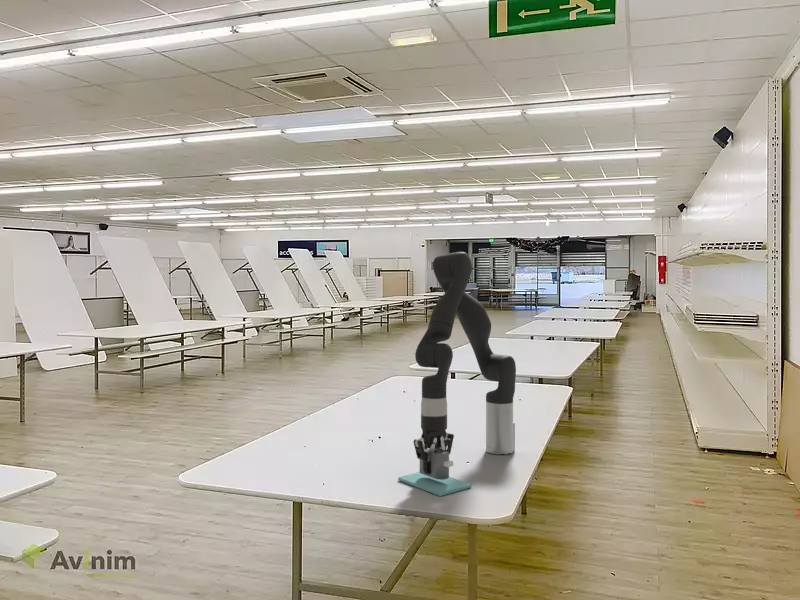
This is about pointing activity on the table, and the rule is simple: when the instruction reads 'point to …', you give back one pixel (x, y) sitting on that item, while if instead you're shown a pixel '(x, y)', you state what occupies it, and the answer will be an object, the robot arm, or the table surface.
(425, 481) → the mat
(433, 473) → the plug block
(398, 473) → the table surface
